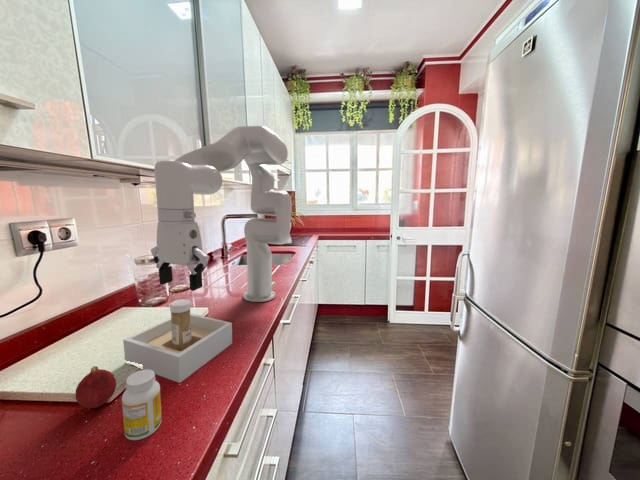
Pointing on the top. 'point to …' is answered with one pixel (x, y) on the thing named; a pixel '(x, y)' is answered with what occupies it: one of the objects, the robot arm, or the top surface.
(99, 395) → the onion
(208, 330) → the open box
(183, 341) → the sprinkles bottle
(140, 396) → the supplement bottle
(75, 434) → the top surface
